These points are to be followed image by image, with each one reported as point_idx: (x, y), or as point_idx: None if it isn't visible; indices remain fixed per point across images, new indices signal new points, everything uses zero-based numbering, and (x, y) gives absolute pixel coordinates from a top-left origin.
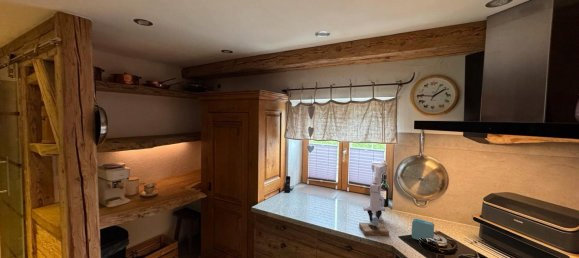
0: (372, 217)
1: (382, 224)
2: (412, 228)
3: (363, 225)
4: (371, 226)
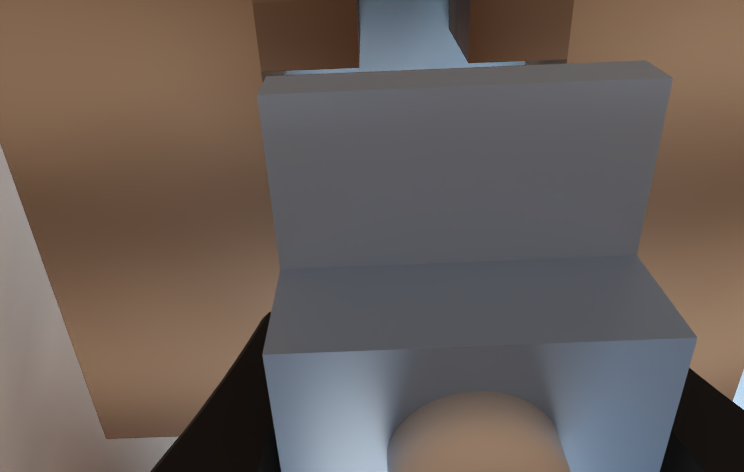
0: (635, 463)
1: (92, 376)
2: None
3: (692, 295)
4: None
